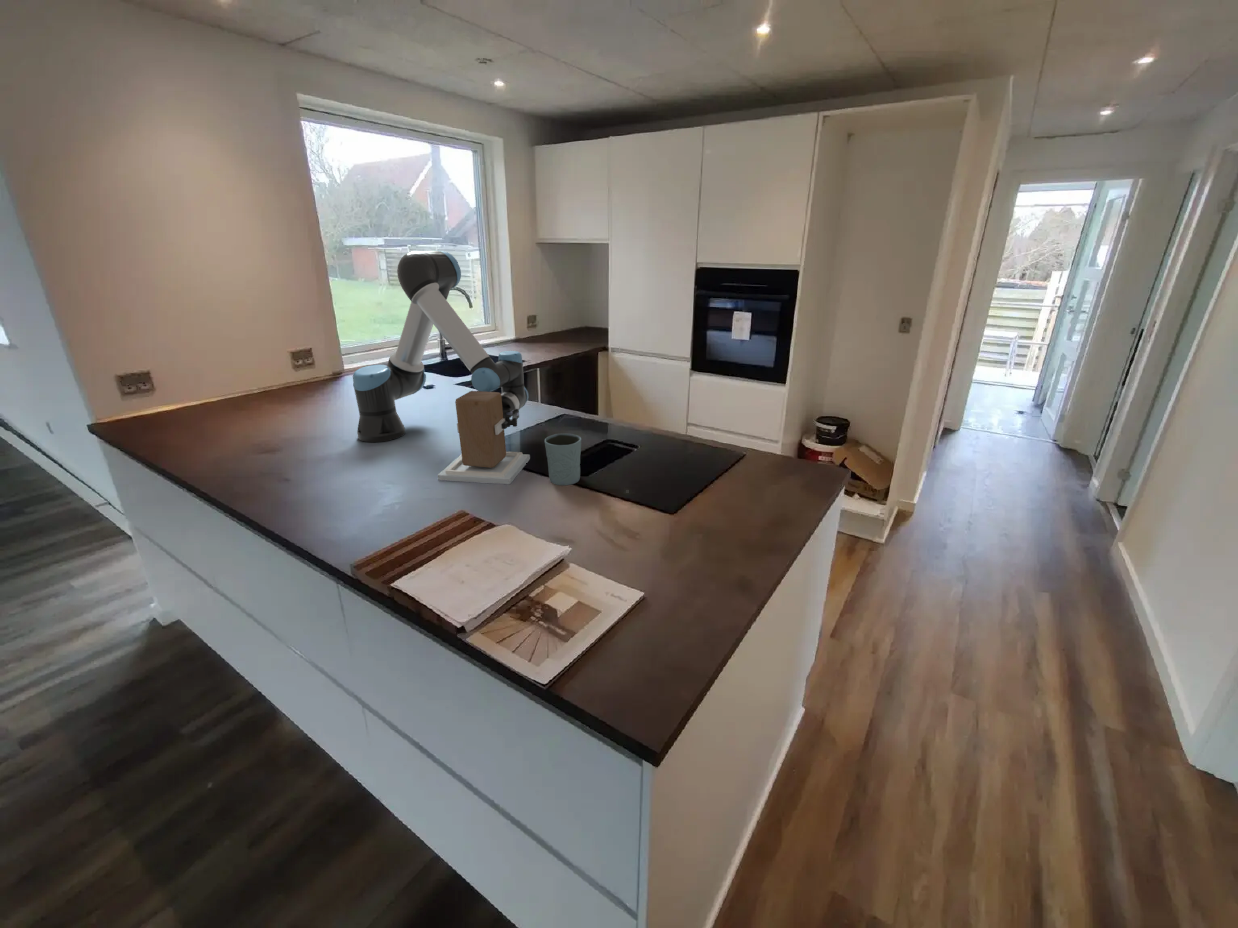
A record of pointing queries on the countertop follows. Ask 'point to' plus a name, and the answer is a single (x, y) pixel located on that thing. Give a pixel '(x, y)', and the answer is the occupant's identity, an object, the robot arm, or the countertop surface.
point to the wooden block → (480, 428)
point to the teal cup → (563, 458)
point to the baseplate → (486, 470)
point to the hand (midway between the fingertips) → (477, 429)
